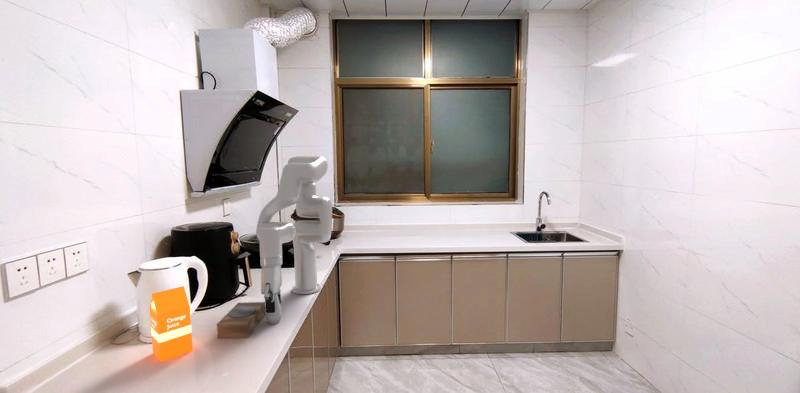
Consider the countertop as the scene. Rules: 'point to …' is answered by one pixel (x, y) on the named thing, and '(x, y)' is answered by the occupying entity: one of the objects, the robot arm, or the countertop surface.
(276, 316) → the salt shaker
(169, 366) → the countertop surface
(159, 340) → the orange juice
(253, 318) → the walnut stand
